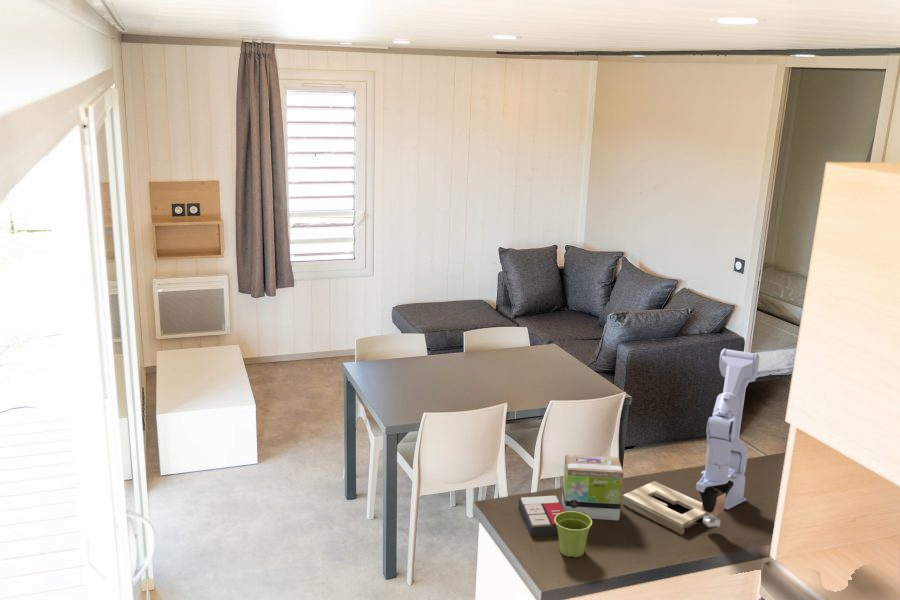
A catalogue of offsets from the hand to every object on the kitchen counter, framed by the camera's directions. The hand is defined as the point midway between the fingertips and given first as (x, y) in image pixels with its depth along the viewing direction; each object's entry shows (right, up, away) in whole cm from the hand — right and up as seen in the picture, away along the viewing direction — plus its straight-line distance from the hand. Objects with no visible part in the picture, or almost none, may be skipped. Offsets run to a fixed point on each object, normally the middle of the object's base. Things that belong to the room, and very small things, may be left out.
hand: (712, 508), depth 209 cm
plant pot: (-38, -9, -8) cm, 40 cm away
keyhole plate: (-9, -4, +12) cm, 16 cm away
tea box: (-30, -4, +12) cm, 33 cm away
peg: (0, -4, +1) cm, 4 cm away
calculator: (-43, -6, +7) cm, 44 cm away
